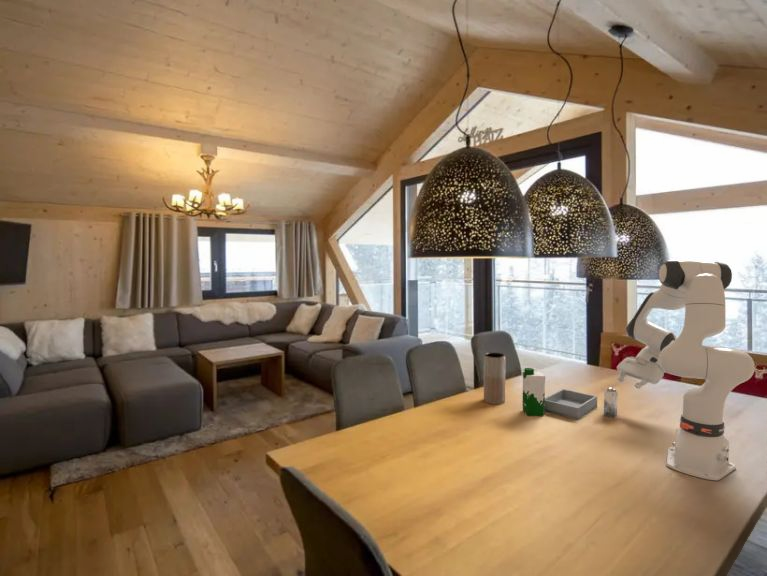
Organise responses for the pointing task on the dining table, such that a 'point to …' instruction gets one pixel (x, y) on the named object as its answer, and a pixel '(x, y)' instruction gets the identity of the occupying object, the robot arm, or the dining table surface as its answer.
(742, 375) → the robot arm
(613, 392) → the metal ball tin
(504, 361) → the planter
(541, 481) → the dining table surface
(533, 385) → the milk carton
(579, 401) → the bin
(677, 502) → the dining table surface
